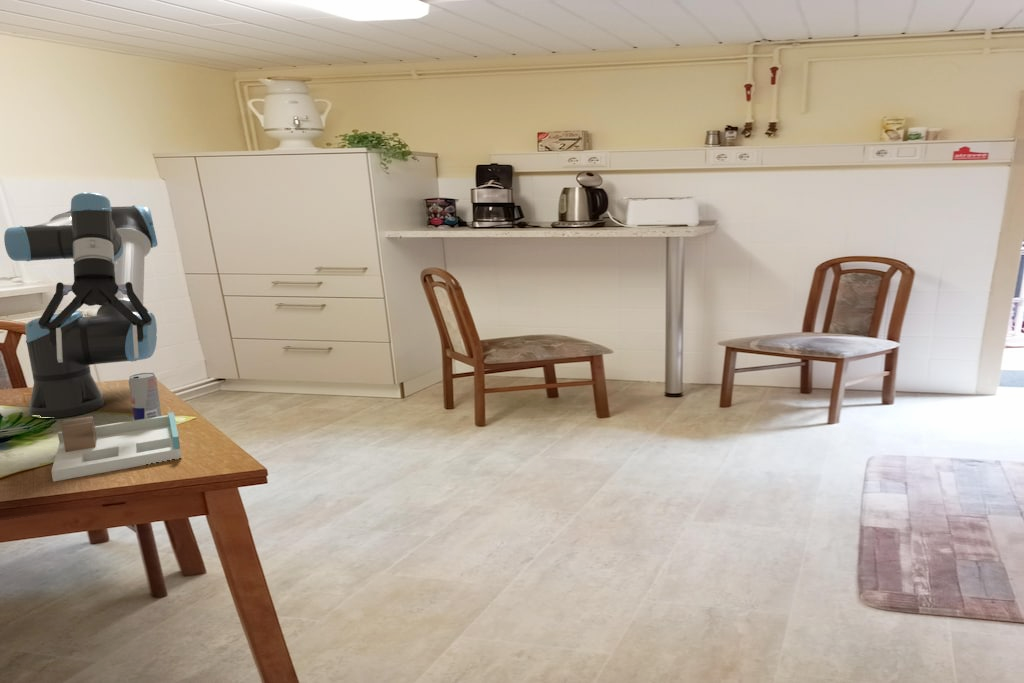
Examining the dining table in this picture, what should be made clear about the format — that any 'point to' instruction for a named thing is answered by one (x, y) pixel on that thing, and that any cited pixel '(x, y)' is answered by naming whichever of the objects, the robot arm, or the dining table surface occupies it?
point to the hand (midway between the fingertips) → (99, 358)
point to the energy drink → (144, 396)
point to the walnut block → (79, 434)
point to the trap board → (120, 448)
